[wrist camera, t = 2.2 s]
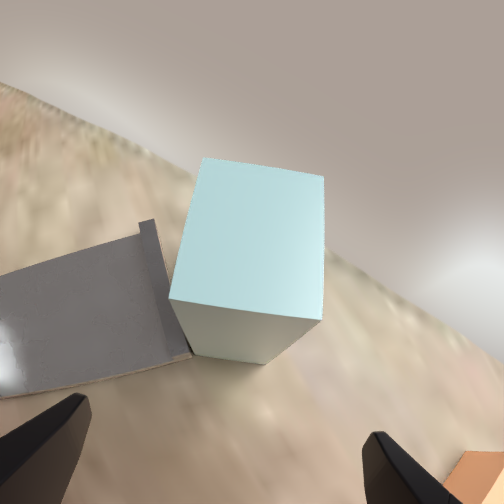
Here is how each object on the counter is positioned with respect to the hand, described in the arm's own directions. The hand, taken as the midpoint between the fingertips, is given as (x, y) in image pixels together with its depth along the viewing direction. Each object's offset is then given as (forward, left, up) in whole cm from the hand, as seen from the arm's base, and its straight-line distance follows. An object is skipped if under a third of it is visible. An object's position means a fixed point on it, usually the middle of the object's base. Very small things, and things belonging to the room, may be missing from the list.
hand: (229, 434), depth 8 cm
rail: (-13, +10, -13) cm, 21 cm away
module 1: (+3, +6, -13) cm, 15 cm away
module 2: (+15, -17, -13) cm, 26 cm away
